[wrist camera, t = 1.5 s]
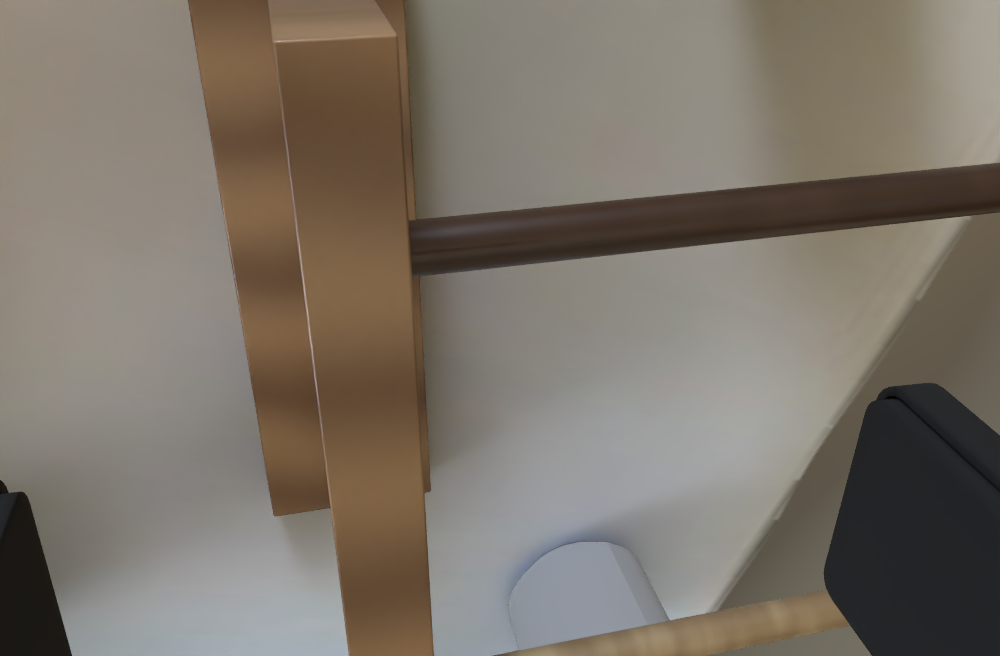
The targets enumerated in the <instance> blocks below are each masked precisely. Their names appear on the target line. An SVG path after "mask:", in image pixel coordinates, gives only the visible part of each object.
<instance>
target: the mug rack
mask: <svg viewBox="0 0 1000 656" xmlns="http://www.w3.org/2000/svg"><path fill="white" fill-rule="evenodd" d="M188 4H189V10H190V16H191V22H192V28H193V34H194V40H195V46H196V52H197V58H198V64H199V70H200V76H201V82H202V88H203V94H204V100H205V106H206V112H207V118H208V124H209V130H210V136H211V142H212V148H213V154H214V160H215V166H216V172H217V178H218V184H219V190H220V196H221V202H222V208H223V214H224V220H225V226H226V232H227V238H228V244H229V250H230V256H231V262H232V268H233V274H234V280H235V286H236V292H237V298H238V304H239V310H240V316H241V323H242V329H243V335H244V341H245V347H246V353H247V359H248V365H249V371H250V377H251V383H252V389H253V395H254V401H255V407H256V413H257V419H258V425H259V431H260V437H261V443H262V449H263V455H264V461H265V467H266V473H267V479H268V485H269V491H270V497H271V503H272V509H273V515H274V516H282V515H288V514H294V513H301V512H307V511H313V510H320V509H326V508H331V516H332V524H333V532H334V540H335V548H336V556H337V564H338V572H339V580H340V588H341V596H342V604H343V612H344V620H345V628H346V636H347V644H348V652H349V656H434V651H433V633H432V616H431V599H430V581H429V564H428V547H427V530H426V512H425V495H424V493H427V492H430V491H431V484H430V465H429V447H428V428H427V409H426V390H425V371H424V352H423V334H422V315H421V296H420V277H419V276H427V275H436V274H445V273H454V272H463V271H472V270H481V269H490V268H499V267H508V266H517V265H526V264H535V263H544V262H553V261H563V260H572V259H581V258H590V257H599V256H608V255H617V254H626V253H635V252H644V251H653V250H662V249H671V248H680V247H689V246H699V245H708V244H717V243H726V242H735V241H744V240H753V239H762V238H771V237H780V236H789V235H798V234H807V233H816V232H825V231H835V230H844V229H853V228H862V227H871V226H880V225H889V224H898V223H907V222H916V221H925V220H934V219H943V218H952V217H962V216H971V215H980V214H989V213H997V212H1000V163H993V164H982V165H972V166H962V167H952V168H941V169H931V170H921V171H911V172H900V173H890V174H880V175H870V176H859V177H849V178H839V179H829V180H818V181H808V182H798V183H788V184H778V185H767V186H757V187H747V188H737V189H726V190H716V191H706V192H696V193H685V194H675V195H665V196H655V197H644V198H634V199H624V200H614V201H603V202H593V203H583V204H573V205H563V206H552V207H542V208H532V209H522V210H511V211H501V212H491V213H481V214H470V215H460V216H450V217H440V218H429V219H419V220H416V202H415V183H414V164H413V146H412V127H411V108H410V89H409V70H408V51H407V33H406V14H405V0H188ZM848 626H850V624H849V623H848V622H847V620H846V619H845V617H844V616H843V615H842V613H841V612H840V610H839V609H838V608H837V606H836V605H835V604H834V602H833V601H832V599H831V597H830V596H829V594H828V591H827V590H822V591H817V592H813V593H807V594H802V595H797V596H792V597H787V598H782V599H777V600H772V601H766V602H761V603H756V604H751V605H746V606H742V607H736V608H731V609H727V610H721V611H716V612H711V613H706V614H701V615H696V616H691V617H686V618H681V619H675V620H670V621H665V622H660V623H655V624H650V625H645V626H640V627H635V628H630V629H625V630H620V631H615V632H610V633H605V634H600V635H595V636H589V637H584V638H579V639H574V640H569V641H564V642H559V643H554V644H549V645H544V646H539V647H534V648H529V649H524V650H519V651H514V652H509V653H504V654H498V655H493V656H708V655H712V654H717V653H722V652H727V651H732V650H737V649H742V648H747V647H751V646H756V645H761V644H766V643H770V642H775V641H780V640H785V639H790V638H794V637H799V636H804V635H809V634H814V633H819V632H824V631H828V630H833V629H838V628H842V627H848Z"/></svg>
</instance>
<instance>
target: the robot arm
mask: <svg viewBox="0 0 1000 656" xmlns="http://www.w3.org/2000/svg"><path fill="white" fill-rule="evenodd" d="M824 580H825V585H826V589H827V591H828V594H829V596H830V597H831V599H832V601H833V602H834V604H835V605H836V606H837V608H838V609H839V610H840V612H841V613H842V615H843V616H844V617H845V619H846V620H847V622H848V623H849V624H850V626H851V627H852V628H853V630H854V631H855V633H856V634H857V635H858V637H859V638H860V640H861V641H862V642H863V644H864V645H865V646H866V648H867V649H868V651H869V652H870V653H871V655H872V656H1000V435H998V434H997V433H996V432H995V431H994V430H992V429H991V428H990V427H989V426H988V425H987V424H985V423H984V422H983V421H982V420H980V419H979V418H978V417H977V416H976V415H975V414H973V413H972V412H971V411H970V410H969V409H967V408H966V407H965V406H964V405H963V404H962V403H961V402H959V401H958V400H957V399H956V398H955V397H953V396H952V395H951V394H950V393H949V392H947V391H946V390H945V389H944V388H942V387H941V386H939V385H937V384H934V383H922V384H912V385H903V386H894V387H888V388H886V389H884V390H883V391H882V392H881V393H880V394H879V395H878V398H877V400H876V401H873V402H871V403H870V404H869V405H868V407H867V410H866V412H865V415H864V419H863V423H862V427H861V431H860V434H859V438H858V442H857V446H856V449H855V454H854V457H853V461H852V465H851V468H850V473H849V476H848V480H847V483H846V487H845V491H844V495H843V499H842V502H841V507H840V510H839V514H838V518H837V521H836V525H835V529H834V533H833V537H832V540H831V544H830V548H829V552H828V556H827V559H826V564H825V568H824ZM0 656H72V654H71V650H70V647H69V643H68V639H67V636H66V632H65V629H64V625H63V621H62V618H61V614H60V610H59V607H58V603H57V600H56V596H55V592H54V589H53V585H52V582H51V578H50V574H49V571H48V567H47V563H46V560H45V556H44V553H43V549H42V545H41V542H40V538H39V535H38V531H37V527H36V524H35V520H34V516H33V513H32V509H31V506H30V502H29V500H28V497H27V496H26V494H25V493H24V492H13V493H9V492H8V490H7V487H6V486H5V484H4V483H3V482H2V481H1V480H0Z"/></svg>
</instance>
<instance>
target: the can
mask: <svg viewBox="0 0 1000 656" xmlns="http://www.w3.org/2000/svg"><path fill="white" fill-rule="evenodd" d="M508 606H509V616H510V622H511V625H512V628H513V631H514V635H515V638H516V641H517V644H518V647H519V650H524V649H529V648H534V647H539V646H544V645H549V644H554V643H559V642H564V641H569V640H574V639H579V638H584V637H589V636H595V635H600V634H605V633H610V632H615V631H620V630H625V629H630V628H635V627H640V626H645V625H650V624H655V623H660V622H665V621H670V620H669V618H668V616H667V614H666V612H665V610H664V608H663V606H662V604H661V603H660V601H659V599H658V597H657V595H656V593H655V591H654V589H653V587H652V585H651V583H650V581H649V580H648V578H647V576H646V574H645V572H644V570H643V568H642V566H641V564H640V562H639V560H638V558H637V557H635V556H634V555H633V554H632V553H630V552H629V551H628V550H627V549H626V548H624V547H621V546H618V545H615V544H611V543H608V542H576V543H572V544H568V545H563V546H560V547H558V548H556V549H554V550H552V551H550V552H548V553H546V554H545V555H543V556H542V557H541V558H540V559H539V560H537V561H536V562H535V563H534V564H532V566H531V567H530V568H529V569H528V570H527V571H525V573H524V574H523V576H522V577H521V578H520V580H519V581H518V582H517V584H516V585H515V587H514V588H513V592H512V595H511V598H510V601H509V604H508Z"/></svg>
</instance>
